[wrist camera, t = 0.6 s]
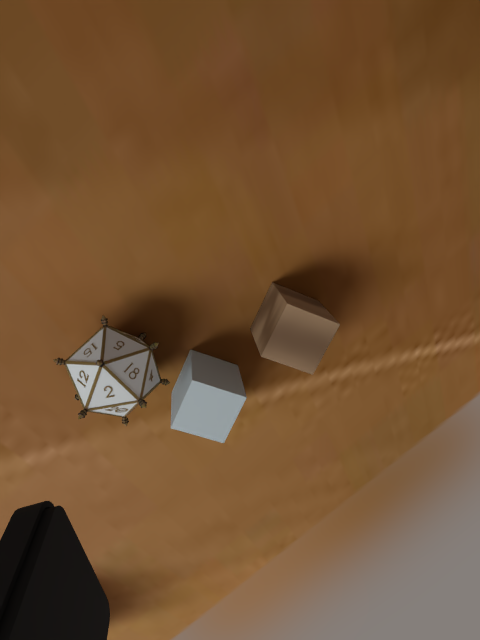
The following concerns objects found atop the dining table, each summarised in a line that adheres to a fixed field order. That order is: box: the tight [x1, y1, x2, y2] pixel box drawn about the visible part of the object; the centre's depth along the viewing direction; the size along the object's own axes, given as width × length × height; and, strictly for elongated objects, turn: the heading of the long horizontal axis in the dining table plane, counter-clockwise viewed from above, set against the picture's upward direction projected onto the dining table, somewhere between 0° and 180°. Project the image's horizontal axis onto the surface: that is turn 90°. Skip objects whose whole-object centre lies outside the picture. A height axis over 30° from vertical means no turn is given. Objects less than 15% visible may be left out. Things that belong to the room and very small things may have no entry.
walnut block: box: [250, 282, 340, 375], centre depth 38 cm, size 5×5×6 cm
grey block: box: [171, 350, 247, 443], centre depth 40 cm, size 5×5×6 cm
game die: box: [53, 316, 170, 426], centre depth 37 cm, size 9×8×10 cm
